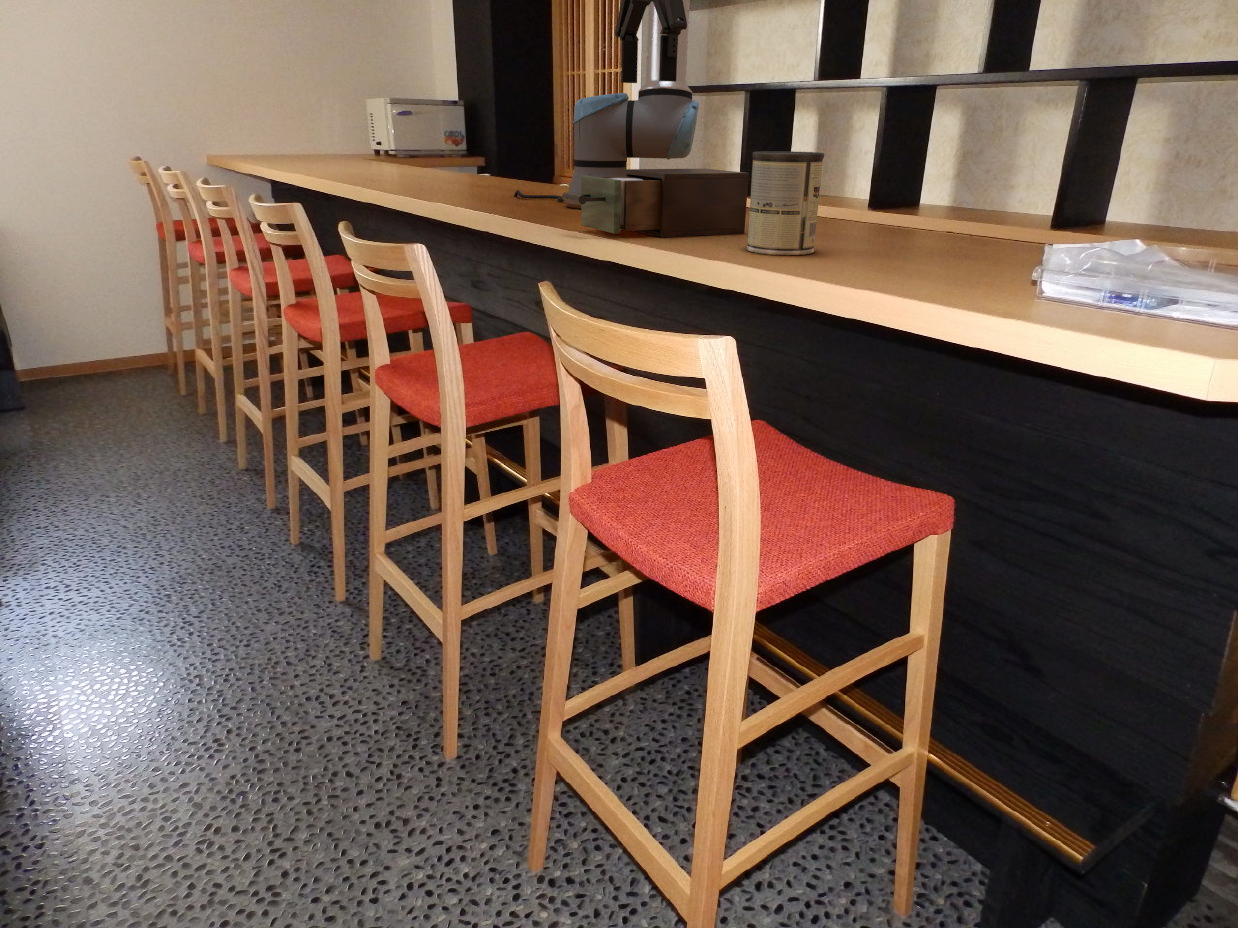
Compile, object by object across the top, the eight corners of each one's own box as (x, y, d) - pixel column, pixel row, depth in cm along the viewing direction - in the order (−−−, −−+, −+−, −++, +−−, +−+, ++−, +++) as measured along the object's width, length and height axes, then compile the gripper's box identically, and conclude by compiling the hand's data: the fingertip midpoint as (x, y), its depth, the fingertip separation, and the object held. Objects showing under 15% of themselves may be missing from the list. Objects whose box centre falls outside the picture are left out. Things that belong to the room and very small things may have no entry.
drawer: (586, 235, 135) (586, 180, 132) (555, 226, 145) (554, 175, 142) (695, 230, 143) (697, 179, 140) (658, 222, 154) (659, 174, 151)
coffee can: (744, 245, 133) (751, 150, 128) (810, 247, 132) (819, 152, 127) (747, 254, 124) (754, 152, 118) (818, 256, 123) (828, 154, 117)
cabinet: (662, 237, 140) (664, 174, 137) (624, 228, 152) (625, 169, 148) (744, 233, 147) (748, 173, 144) (702, 225, 159) (704, 168, 155)
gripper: (596, -57, 140) (595, 83, 148) (669, -84, 119) (664, 80, 128) (636, -53, 143) (633, 84, 151) (714, -79, 122) (706, 81, 131)
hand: (647, 82), depth 139 cm, fingers open, 13 cm apart
